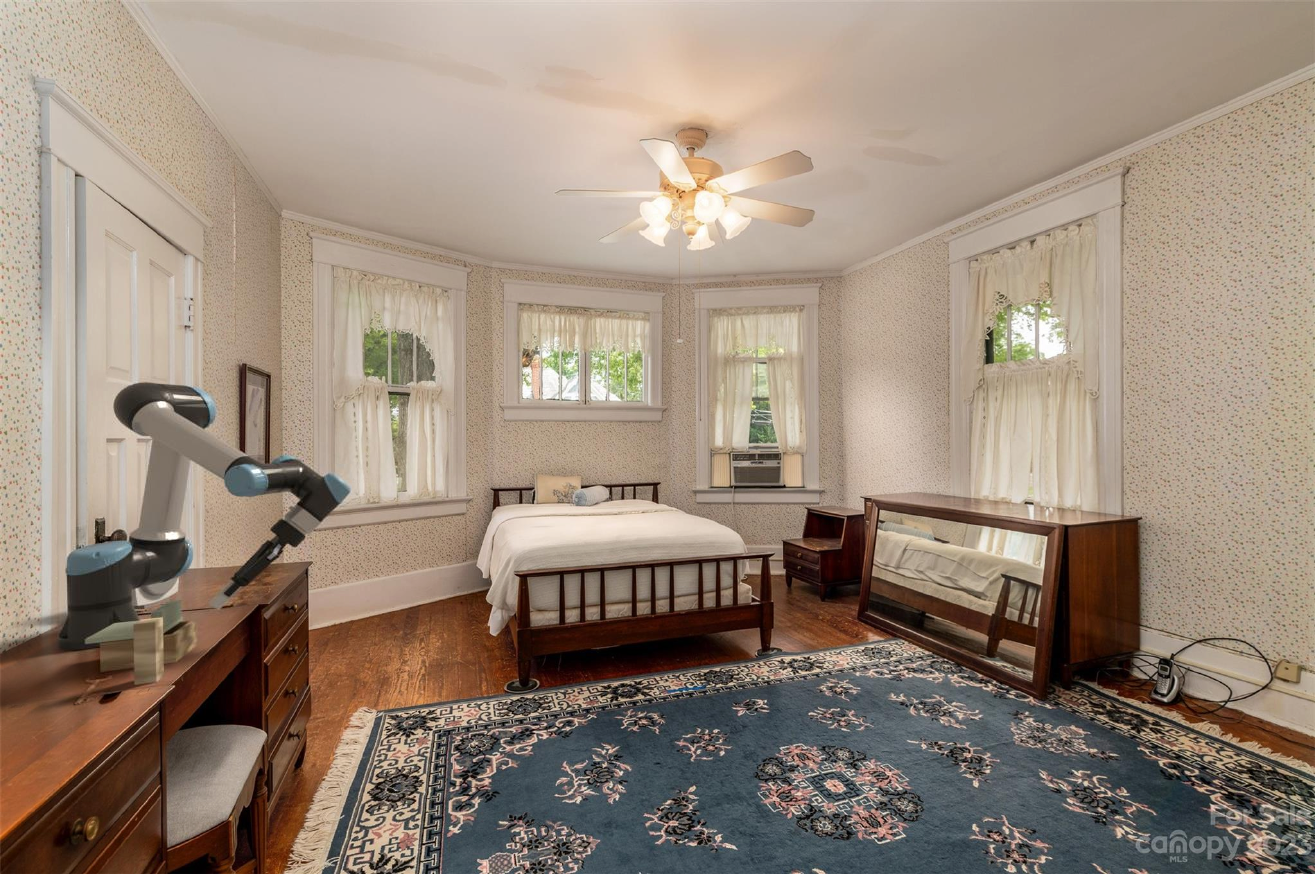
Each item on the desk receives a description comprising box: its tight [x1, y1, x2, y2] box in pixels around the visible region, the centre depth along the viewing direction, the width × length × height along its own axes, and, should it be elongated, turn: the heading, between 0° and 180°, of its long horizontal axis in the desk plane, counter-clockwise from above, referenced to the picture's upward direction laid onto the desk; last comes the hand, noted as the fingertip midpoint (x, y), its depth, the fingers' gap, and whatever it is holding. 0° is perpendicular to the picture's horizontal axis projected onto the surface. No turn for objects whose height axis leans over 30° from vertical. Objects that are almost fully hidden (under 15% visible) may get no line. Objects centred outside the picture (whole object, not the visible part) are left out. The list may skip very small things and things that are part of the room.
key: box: [74, 674, 113, 705], centre depth 115 cm, size 6×1×15 cm
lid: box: [85, 599, 184, 644], centre depth 130 cm, size 12×13×5 cm
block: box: [133, 617, 165, 686], centre depth 118 cm, size 4×4×12 cm
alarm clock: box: [132, 576, 180, 609], centre depth 175 cm, size 18×8×20 cm, turn 6°
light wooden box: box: [99, 619, 198, 673], centre depth 131 cm, size 12×13×6 cm
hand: (213, 606), depth 137 cm, fingers closed
